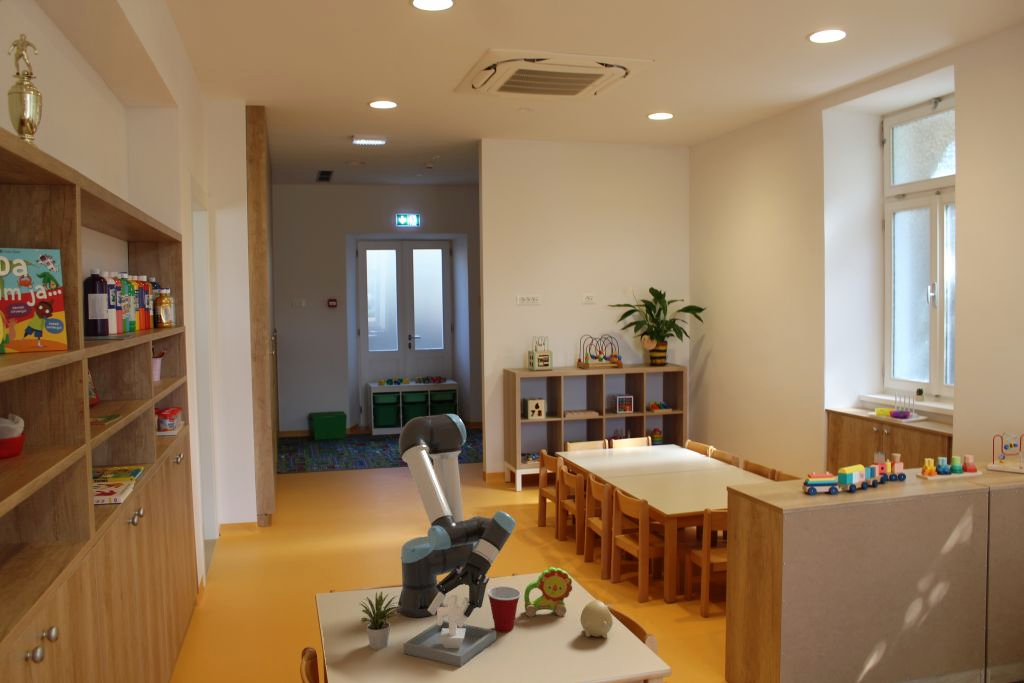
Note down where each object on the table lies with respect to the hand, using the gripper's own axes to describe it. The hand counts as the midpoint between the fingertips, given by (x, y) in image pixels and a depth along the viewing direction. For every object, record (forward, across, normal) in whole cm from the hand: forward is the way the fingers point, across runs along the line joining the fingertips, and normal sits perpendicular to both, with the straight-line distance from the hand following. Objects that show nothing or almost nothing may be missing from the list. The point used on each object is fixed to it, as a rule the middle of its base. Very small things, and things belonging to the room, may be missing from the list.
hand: (443, 619), depth 241 cm
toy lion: (-22, -2, -36) cm, 42 cm away
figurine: (+4, -1, -8) cm, 9 cm away
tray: (+5, 0, -8) cm, 9 cm away
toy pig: (-22, -25, -35) cm, 48 cm away
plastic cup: (-10, -1, -23) cm, 25 cm away
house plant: (+16, +15, +3) cm, 23 cm away
